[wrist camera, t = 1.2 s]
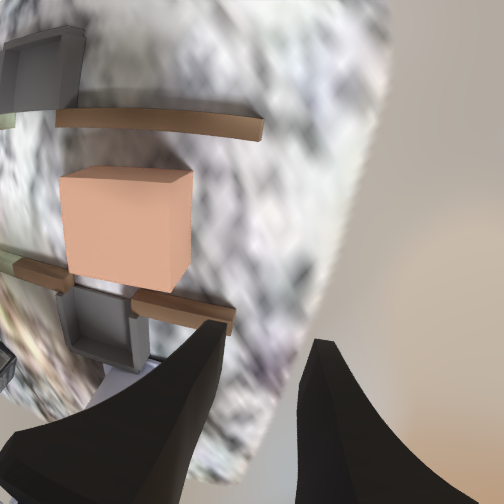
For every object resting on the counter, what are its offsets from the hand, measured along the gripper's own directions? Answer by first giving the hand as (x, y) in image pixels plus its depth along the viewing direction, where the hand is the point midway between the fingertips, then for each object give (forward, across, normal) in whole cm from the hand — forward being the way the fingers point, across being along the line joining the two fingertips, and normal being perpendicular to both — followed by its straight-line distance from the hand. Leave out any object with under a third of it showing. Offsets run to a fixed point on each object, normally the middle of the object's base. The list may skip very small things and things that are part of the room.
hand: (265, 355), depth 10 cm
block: (+11, +9, 0) cm, 14 cm away
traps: (+10, +15, 0) cm, 18 cm away
